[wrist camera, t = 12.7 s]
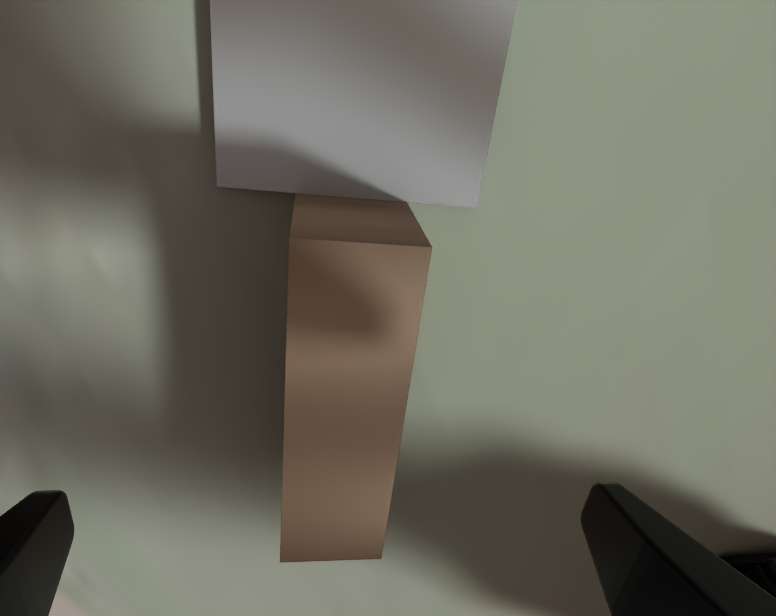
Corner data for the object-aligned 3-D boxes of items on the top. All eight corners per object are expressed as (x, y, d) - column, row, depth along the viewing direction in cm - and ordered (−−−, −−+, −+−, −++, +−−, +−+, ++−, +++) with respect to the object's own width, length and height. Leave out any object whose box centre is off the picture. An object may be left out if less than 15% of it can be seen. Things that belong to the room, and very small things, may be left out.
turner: (421, 461, 19) (445, 556, 16) (229, 462, 18) (208, 565, 14) (541, -157, 11) (645, -250, 8) (205, -227, 10) (144, -375, 6)
